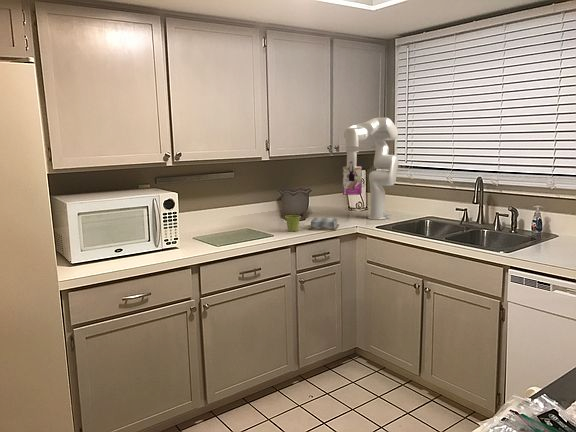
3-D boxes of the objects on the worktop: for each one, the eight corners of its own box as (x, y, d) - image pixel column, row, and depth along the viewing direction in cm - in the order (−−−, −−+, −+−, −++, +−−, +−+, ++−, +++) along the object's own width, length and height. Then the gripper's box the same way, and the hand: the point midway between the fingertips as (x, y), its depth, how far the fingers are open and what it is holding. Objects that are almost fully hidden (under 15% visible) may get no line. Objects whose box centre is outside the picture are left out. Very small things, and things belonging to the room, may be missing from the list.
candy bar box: (342, 195, 287) (342, 167, 284) (342, 193, 292) (342, 166, 289) (362, 194, 286) (361, 166, 283) (361, 193, 291) (361, 166, 288)
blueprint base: (339, 225, 302) (339, 217, 302) (335, 230, 287) (335, 222, 286) (313, 224, 306) (313, 217, 305) (308, 229, 291) (308, 222, 290)
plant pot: (289, 228, 296) (289, 214, 295) (303, 229, 292) (303, 215, 290) (282, 231, 288) (282, 217, 287) (296, 232, 284) (296, 218, 282)
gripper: (347, 149, 294) (347, 178, 297) (343, 150, 277) (344, 182, 280) (359, 148, 292) (359, 178, 295) (357, 150, 275) (357, 182, 279)
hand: (352, 180), depth 288 cm, fingers closed on candy bar box, 5 cm apart
